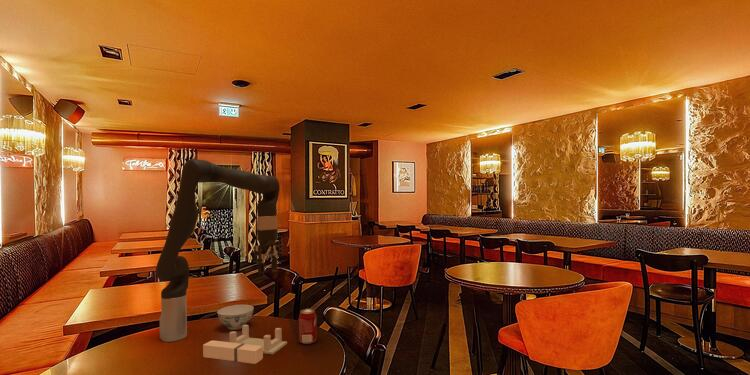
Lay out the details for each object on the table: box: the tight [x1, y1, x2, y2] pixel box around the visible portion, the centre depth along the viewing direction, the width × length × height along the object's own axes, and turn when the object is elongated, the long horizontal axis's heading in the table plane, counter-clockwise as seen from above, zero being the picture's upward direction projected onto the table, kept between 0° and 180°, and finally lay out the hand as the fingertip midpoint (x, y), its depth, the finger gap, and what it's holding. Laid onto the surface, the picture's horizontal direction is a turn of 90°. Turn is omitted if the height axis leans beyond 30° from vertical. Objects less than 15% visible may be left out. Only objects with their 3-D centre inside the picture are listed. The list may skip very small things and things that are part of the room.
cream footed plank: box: [229, 324, 288, 355], centre depth 145 cm, size 21×10×6 cm, turn 73°
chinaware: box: [216, 304, 254, 331], centre depth 167 cm, size 15×15×8 cm
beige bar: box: [202, 340, 264, 365], centre depth 135 cm, size 22×4×4 cm, turn 73°
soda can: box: [298, 308, 318, 345], centre depth 148 cm, size 7×7×12 cm
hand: (268, 270), depth 142 cm, fingers open, 8 cm apart
